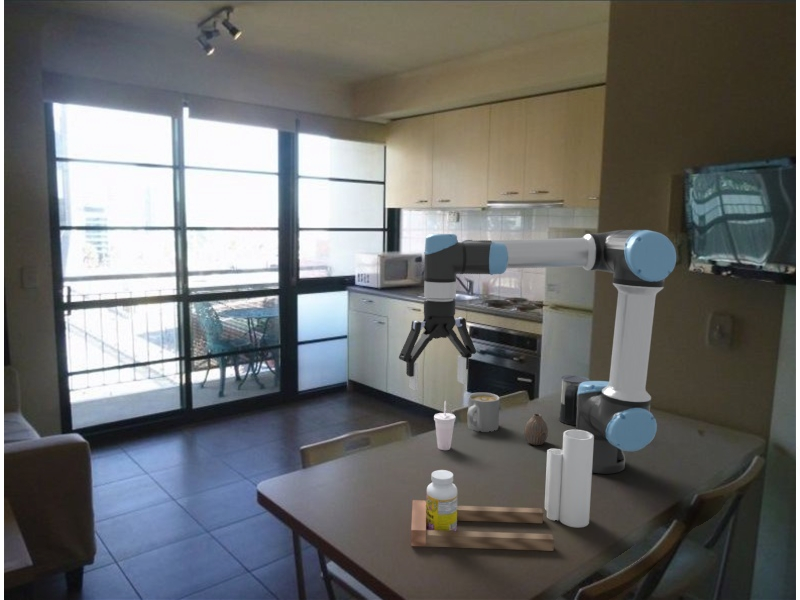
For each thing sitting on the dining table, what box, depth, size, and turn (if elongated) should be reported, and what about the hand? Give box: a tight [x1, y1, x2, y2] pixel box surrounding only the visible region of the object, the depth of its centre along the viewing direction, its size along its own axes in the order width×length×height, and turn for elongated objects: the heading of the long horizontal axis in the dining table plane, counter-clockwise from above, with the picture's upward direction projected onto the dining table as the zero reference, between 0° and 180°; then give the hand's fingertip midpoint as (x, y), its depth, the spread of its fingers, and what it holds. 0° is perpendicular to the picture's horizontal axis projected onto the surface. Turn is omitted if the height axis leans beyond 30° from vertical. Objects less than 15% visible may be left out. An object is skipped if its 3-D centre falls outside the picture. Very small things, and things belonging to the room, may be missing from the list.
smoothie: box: [433, 400, 457, 451], centre depth 173 cm, size 6×6×14 cm
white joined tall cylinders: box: [544, 429, 594, 528], centre depth 133 cm, size 11×7×20 cm, turn 43°
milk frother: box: [558, 375, 591, 426], centre depth 194 cm, size 14×16×15 cm
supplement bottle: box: [425, 469, 459, 531], centre depth 126 cm, size 7×7×13 cm
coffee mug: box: [466, 392, 500, 433], centre depth 190 cm, size 13×10×10 cm
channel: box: [410, 499, 555, 552], centre depth 127 cm, size 29×13×4 cm, turn 88°
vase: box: [524, 413, 549, 446], centre depth 178 cm, size 7×7×9 cm
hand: (437, 386), depth 143 cm, fingers open, 13 cm apart
